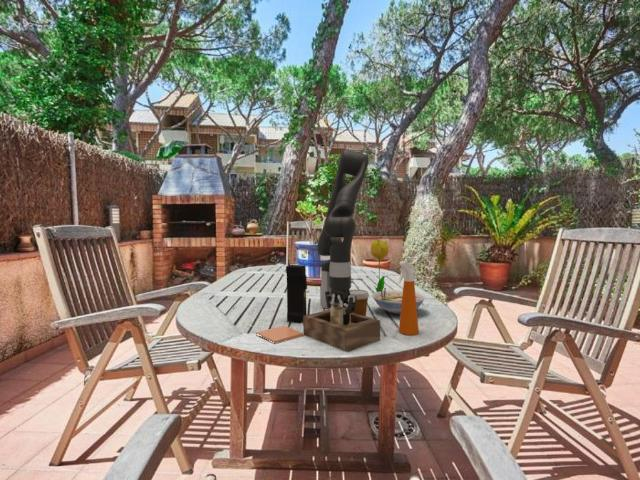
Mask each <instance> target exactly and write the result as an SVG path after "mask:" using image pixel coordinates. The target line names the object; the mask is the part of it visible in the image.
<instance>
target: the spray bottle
mask: <svg viewBox="0 0 640 480" xmlns="http://www.w3.org/2000/svg"><path fill="white" fill-rule="evenodd" d="M399 266H400V274H399V277H398V281H397V282H396V283H397V285H399V284H401V282H402V280H403V285H402V289H403V290H402V291H403V295H402V305H401V314H399V325H398V326H399V327H398V333H400V334H401V333H402V335H406V336H415V335H418V334H419V333H420V331H419V320H418V310H417V309H418V308H417V307H416V296H415V292H416V290H415V289H416V285H415V275H414V272H415V270H416V267H415V266H414V265H413V264H411V263H410V262H407V261H402V260H401V261H399Z"/></svg>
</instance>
